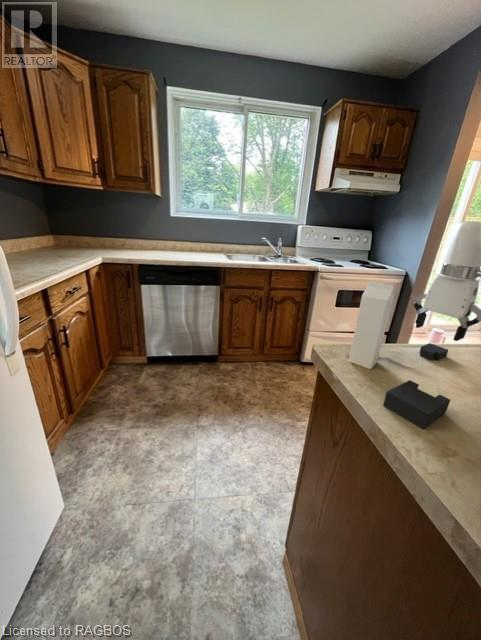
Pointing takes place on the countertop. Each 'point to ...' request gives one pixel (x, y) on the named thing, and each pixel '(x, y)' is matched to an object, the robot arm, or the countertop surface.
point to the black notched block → (415, 404)
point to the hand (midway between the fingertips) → (437, 333)
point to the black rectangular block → (433, 352)
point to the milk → (371, 324)
